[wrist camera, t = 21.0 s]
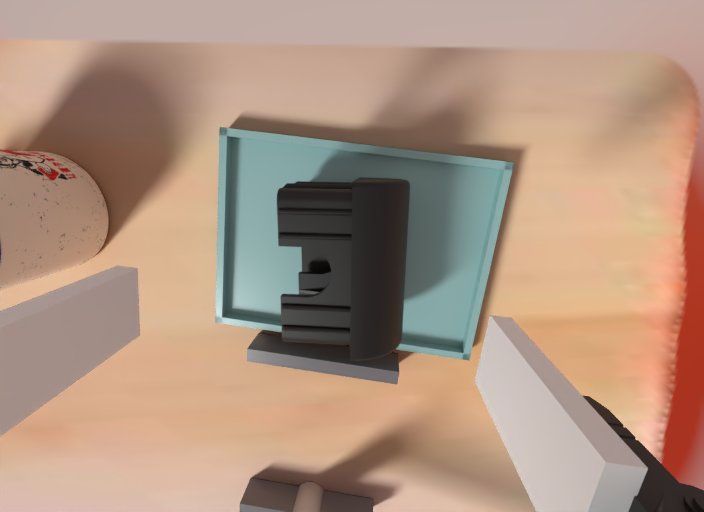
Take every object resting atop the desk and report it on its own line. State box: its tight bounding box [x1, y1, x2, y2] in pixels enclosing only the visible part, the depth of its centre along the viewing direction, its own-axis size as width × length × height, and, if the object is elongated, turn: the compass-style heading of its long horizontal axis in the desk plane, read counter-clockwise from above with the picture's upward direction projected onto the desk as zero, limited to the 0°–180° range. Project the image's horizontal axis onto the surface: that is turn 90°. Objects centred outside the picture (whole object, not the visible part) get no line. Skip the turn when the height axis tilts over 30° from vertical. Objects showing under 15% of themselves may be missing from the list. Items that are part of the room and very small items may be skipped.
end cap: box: [277, 177, 410, 361], centre depth 22 cm, size 10×7×7 cm
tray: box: [215, 127, 514, 360], centre depth 25 cm, size 19×14×1 cm
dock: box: [240, 333, 399, 512], centre depth 26 cm, size 11×16×8 cm
